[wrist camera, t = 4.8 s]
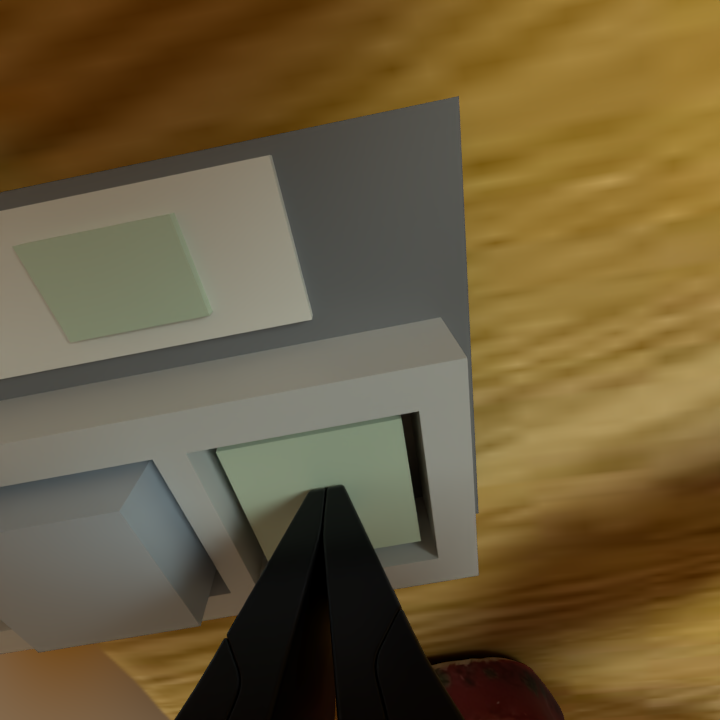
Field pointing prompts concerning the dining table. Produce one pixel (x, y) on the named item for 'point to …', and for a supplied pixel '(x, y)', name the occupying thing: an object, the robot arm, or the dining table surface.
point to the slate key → (99, 558)
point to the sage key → (327, 478)
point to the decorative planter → (497, 690)
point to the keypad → (248, 324)
